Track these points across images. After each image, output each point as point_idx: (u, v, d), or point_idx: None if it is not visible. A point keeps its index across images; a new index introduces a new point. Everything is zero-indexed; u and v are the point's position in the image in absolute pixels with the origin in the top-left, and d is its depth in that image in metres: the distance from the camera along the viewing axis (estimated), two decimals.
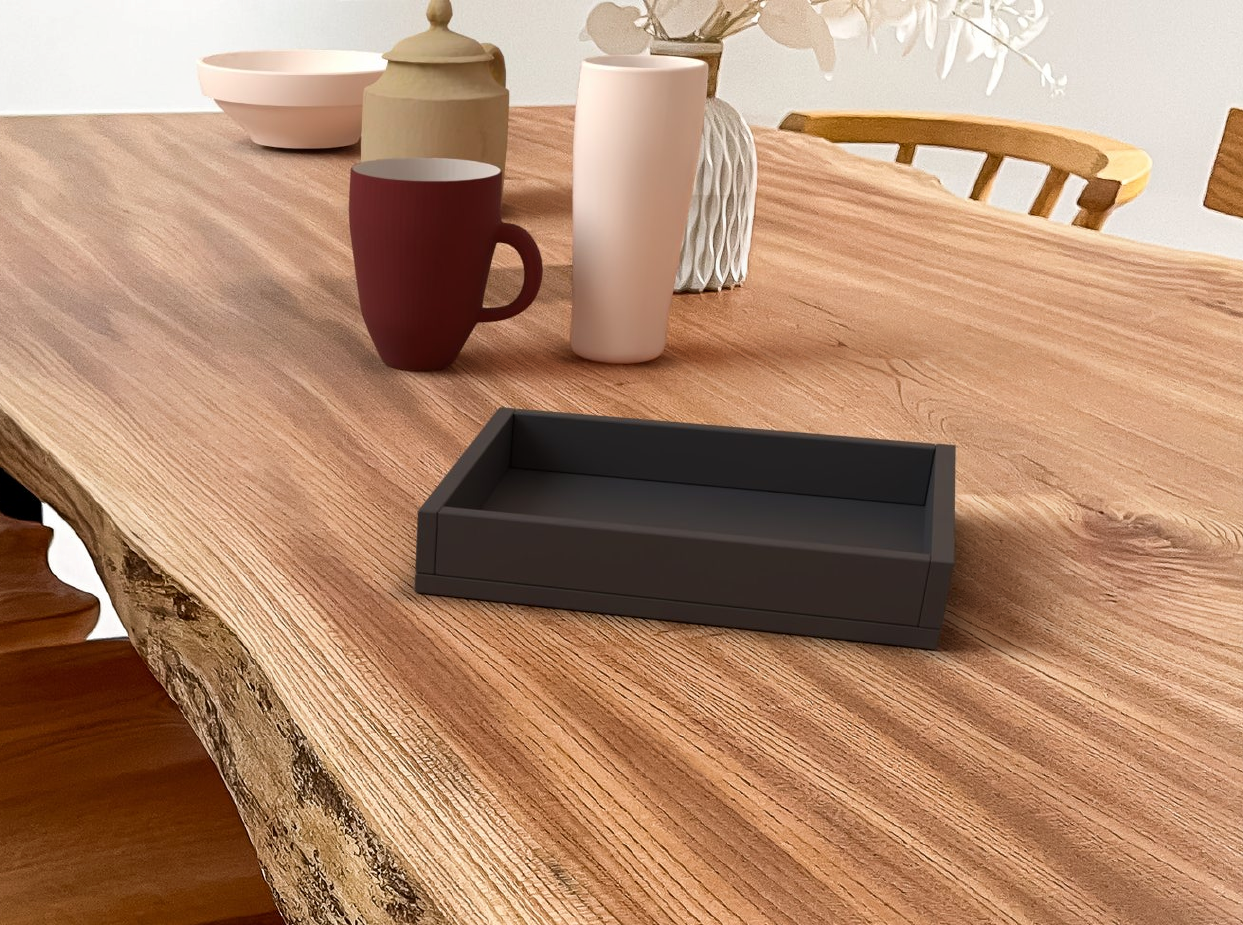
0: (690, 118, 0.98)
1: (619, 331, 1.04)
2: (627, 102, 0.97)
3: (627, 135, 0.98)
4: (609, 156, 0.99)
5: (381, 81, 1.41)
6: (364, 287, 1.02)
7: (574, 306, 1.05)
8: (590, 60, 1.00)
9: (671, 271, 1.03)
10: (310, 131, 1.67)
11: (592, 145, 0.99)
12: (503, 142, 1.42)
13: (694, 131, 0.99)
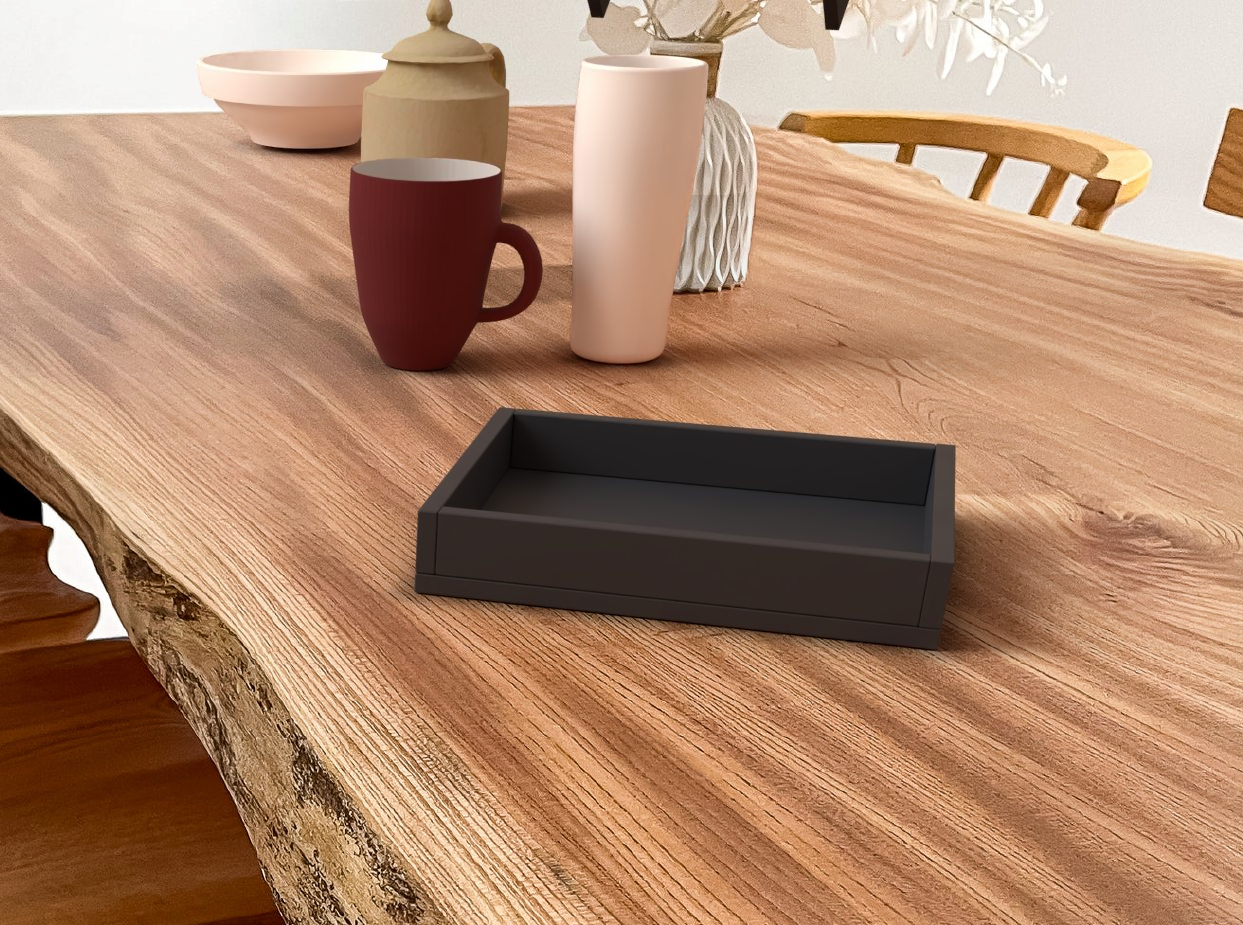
0: (690, 118, 0.98)
1: (619, 331, 1.04)
2: (627, 102, 0.97)
3: (627, 135, 0.98)
4: (608, 156, 0.99)
5: (381, 81, 1.41)
6: (364, 287, 1.02)
7: (574, 306, 1.05)
8: (590, 60, 1.00)
9: (671, 271, 1.03)
10: (310, 131, 1.67)
11: (592, 145, 0.99)
12: (503, 142, 1.42)
13: (694, 131, 0.99)
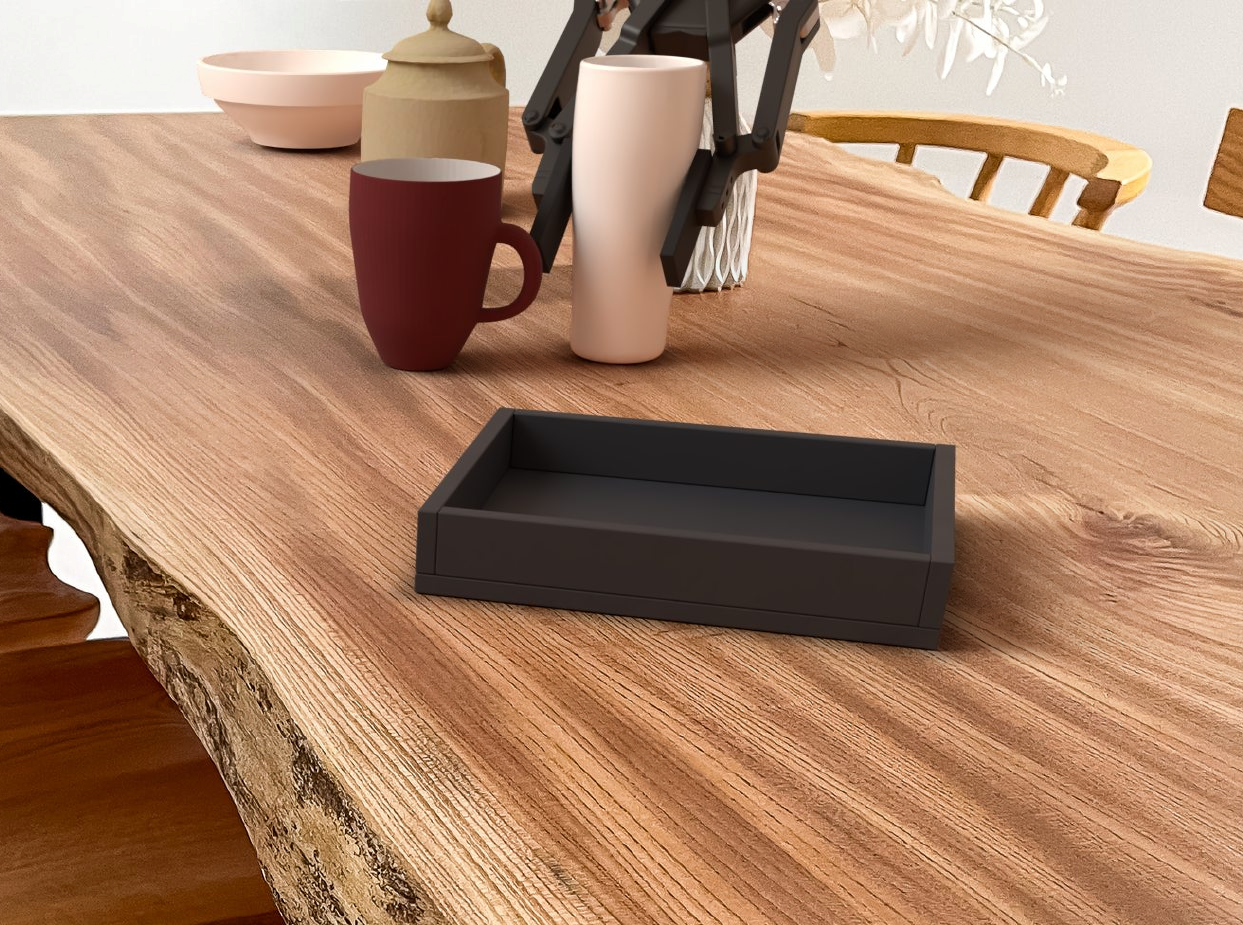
0: (689, 118, 0.98)
1: (619, 331, 1.04)
2: (626, 102, 0.97)
3: (626, 135, 0.98)
4: (608, 156, 0.99)
5: (381, 81, 1.41)
6: (364, 287, 1.02)
7: (574, 306, 1.05)
8: (589, 60, 1.00)
9: None
10: (310, 131, 1.67)
11: (591, 145, 0.99)
12: (503, 142, 1.42)
13: (693, 131, 0.99)
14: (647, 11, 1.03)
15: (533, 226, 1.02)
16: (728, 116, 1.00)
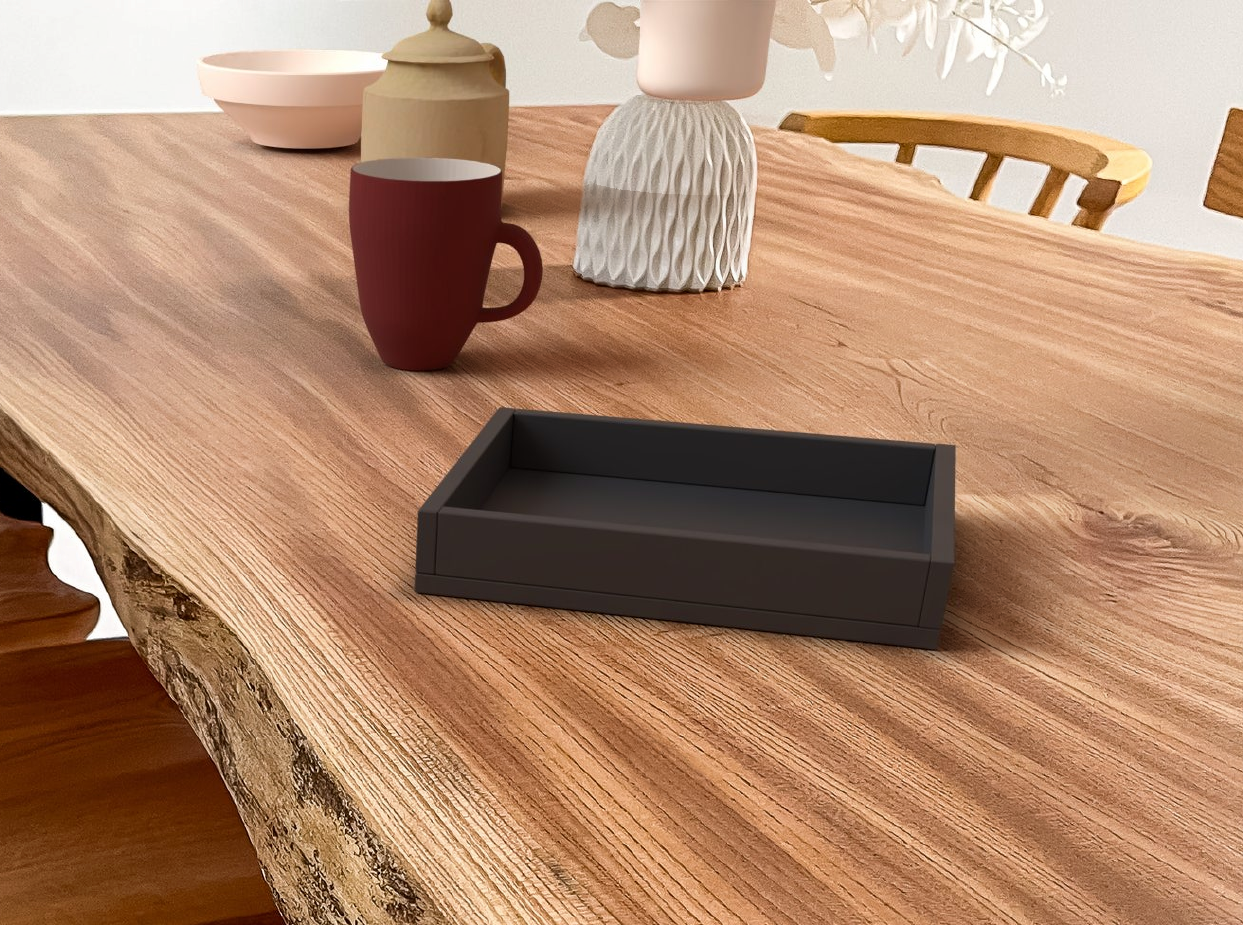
0: None
1: (705, 53, 0.77)
2: None
3: None
4: None
5: (381, 81, 1.41)
6: (364, 287, 1.02)
7: (644, 25, 0.79)
8: None
9: None
10: (310, 131, 1.67)
11: None
12: (503, 142, 1.42)
13: None
14: None
15: None
16: None
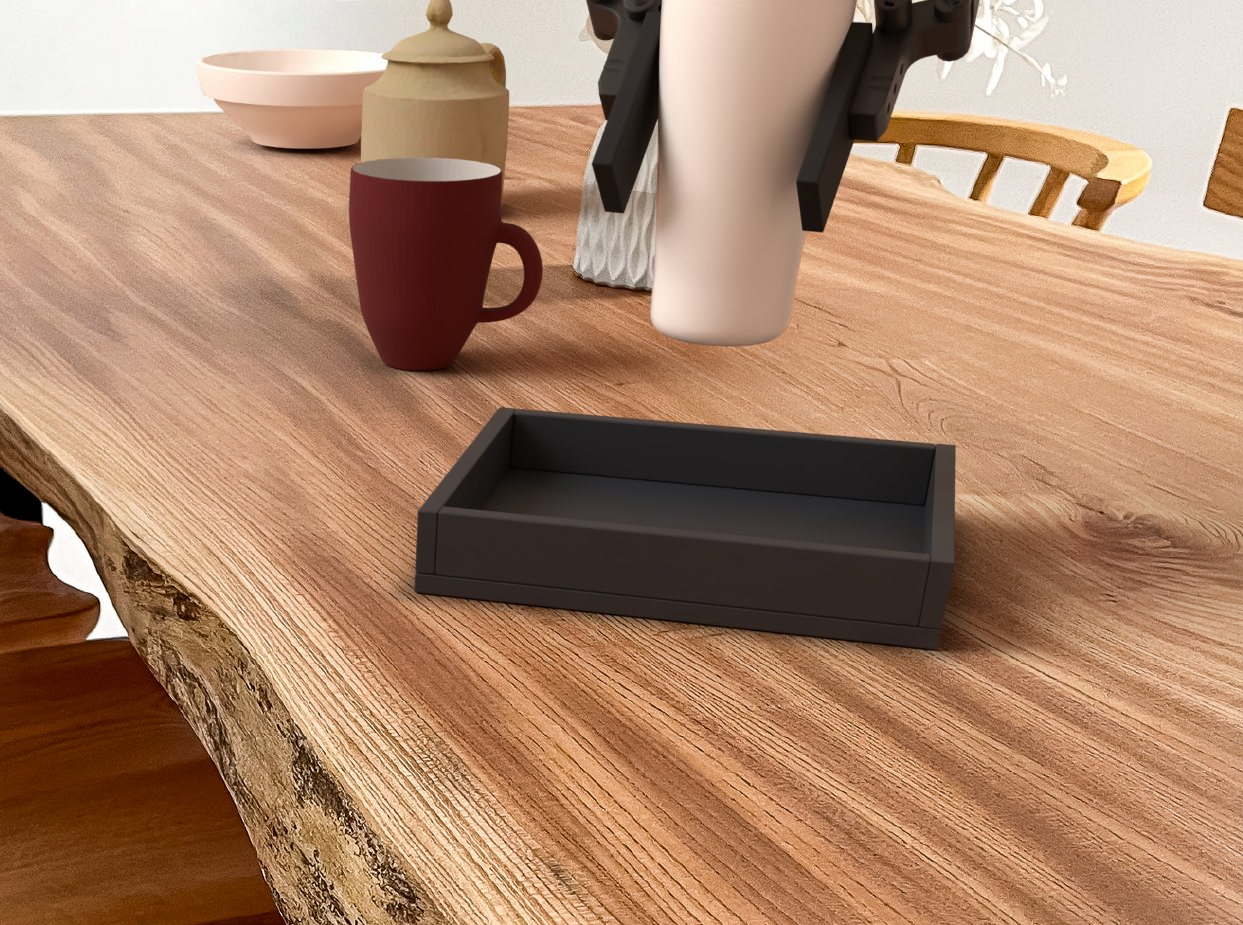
0: None
1: (727, 298, 0.70)
2: None
3: None
4: (718, 32, 0.65)
5: (381, 81, 1.41)
6: (364, 287, 1.02)
7: (659, 262, 0.71)
8: None
9: None
10: (310, 131, 1.67)
11: (693, 16, 0.66)
12: (503, 142, 1.42)
13: None
14: None
15: (602, 141, 0.68)
16: None
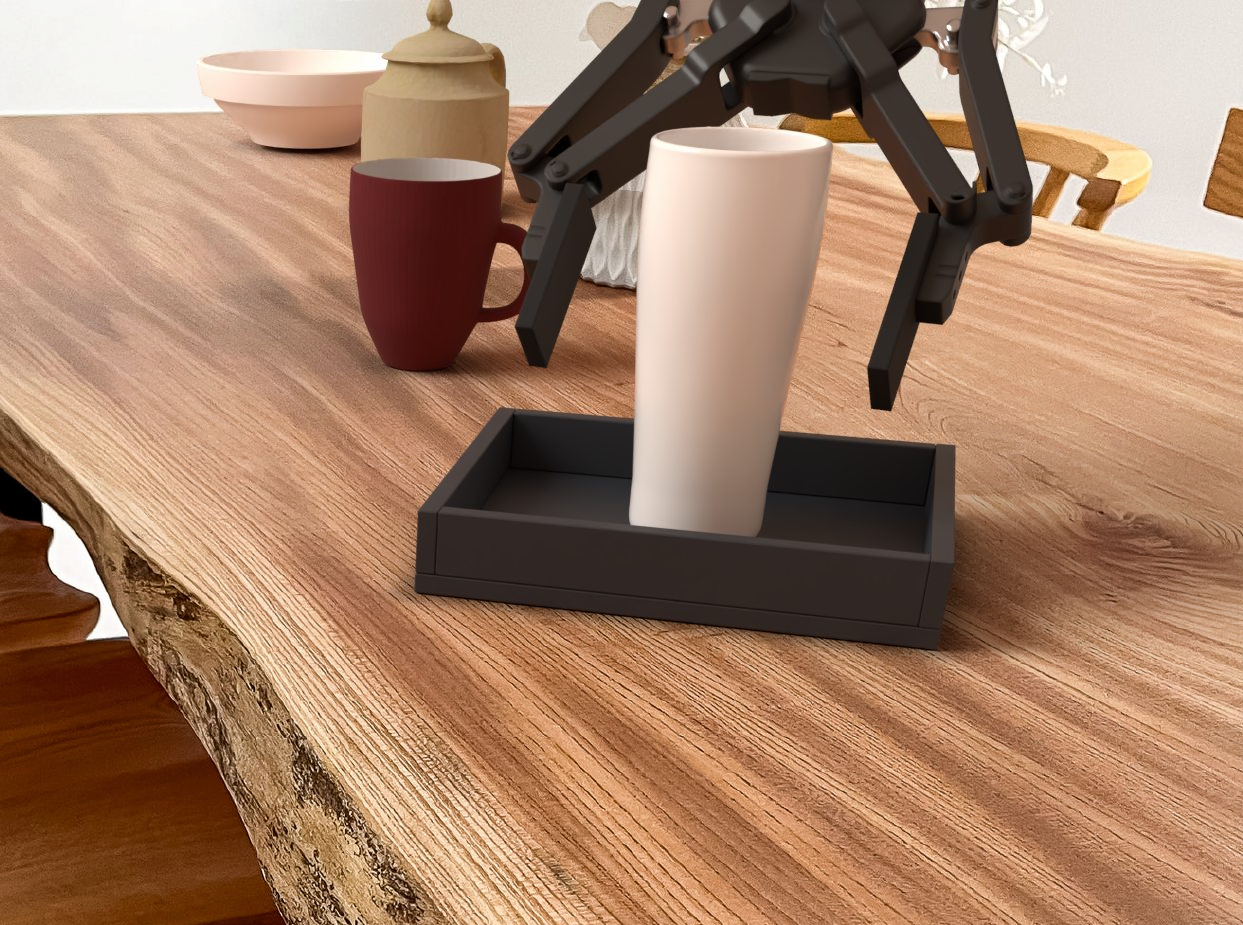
0: (808, 221, 0.69)
1: (701, 510, 0.74)
2: (719, 199, 0.68)
3: (718, 245, 0.69)
4: (691, 274, 0.70)
5: (381, 81, 1.41)
6: (364, 287, 1.02)
7: (637, 473, 0.76)
8: (663, 136, 0.71)
9: (774, 428, 0.74)
10: (310, 131, 1.67)
11: (667, 257, 0.70)
12: (503, 142, 1.42)
13: (813, 238, 0.69)
14: (728, 42, 0.74)
15: (524, 305, 0.74)
16: (946, 170, 0.69)
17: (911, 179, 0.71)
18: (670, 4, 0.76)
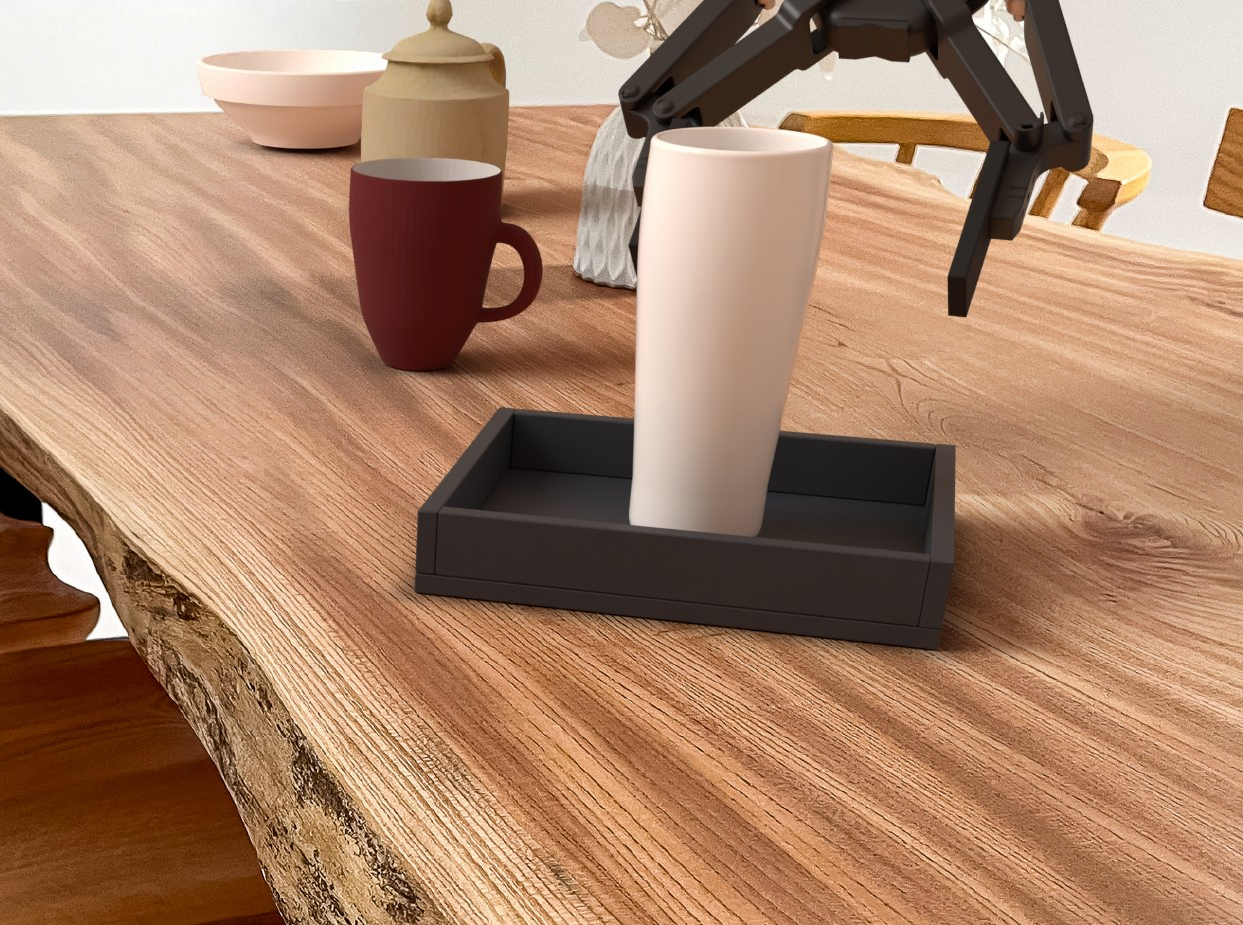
0: (808, 221, 0.69)
1: (701, 510, 0.74)
2: (720, 199, 0.68)
3: (719, 245, 0.69)
4: (691, 274, 0.70)
5: (381, 81, 1.41)
6: (364, 287, 1.02)
7: (637, 472, 0.76)
8: (663, 136, 0.71)
9: (774, 428, 0.74)
10: (310, 131, 1.67)
11: (667, 258, 0.70)
12: (503, 142, 1.42)
13: (813, 238, 0.69)
14: None
15: (636, 226, 0.83)
16: (1016, 103, 0.79)
17: (983, 113, 0.80)
18: None
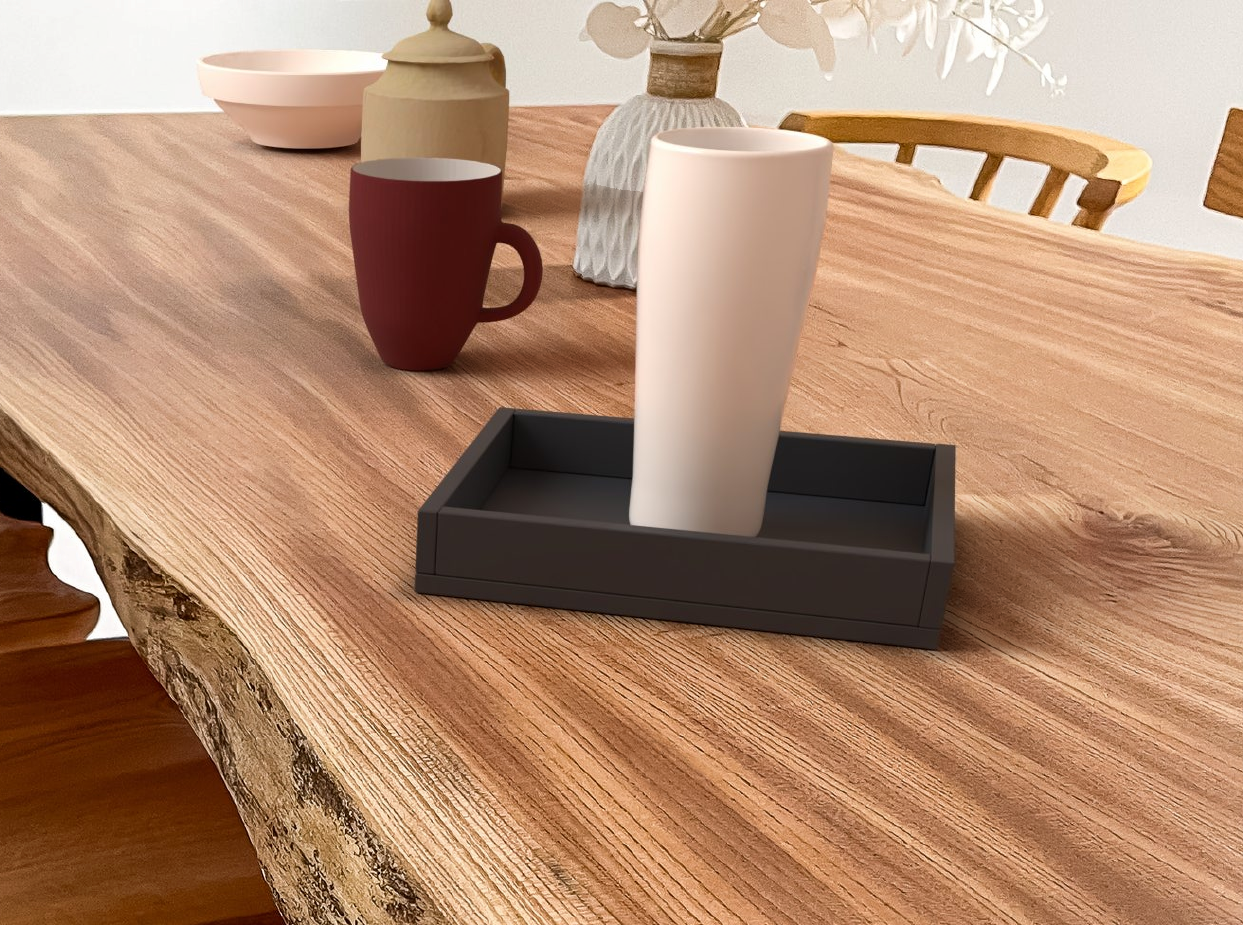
0: (808, 221, 0.69)
1: (701, 510, 0.74)
2: (720, 200, 0.68)
3: (719, 246, 0.69)
4: (691, 275, 0.70)
5: (381, 81, 1.41)
6: (364, 287, 1.02)
7: (637, 473, 0.76)
8: (663, 136, 0.71)
9: (774, 428, 0.74)
10: (310, 131, 1.67)
11: (667, 258, 0.70)
12: (503, 142, 1.42)
13: (813, 238, 0.69)
14: None
15: None
16: None
17: None
18: None
